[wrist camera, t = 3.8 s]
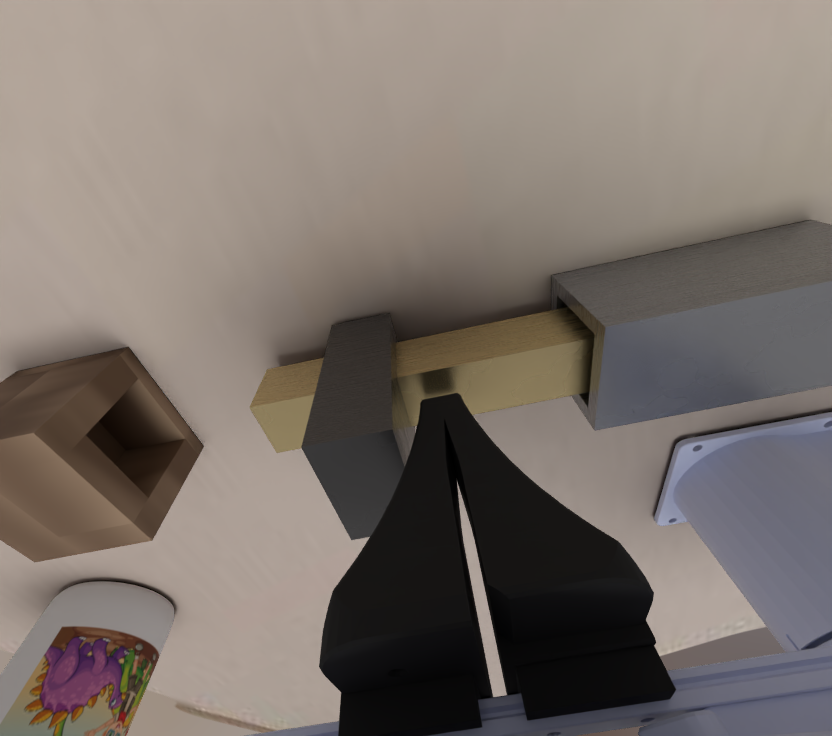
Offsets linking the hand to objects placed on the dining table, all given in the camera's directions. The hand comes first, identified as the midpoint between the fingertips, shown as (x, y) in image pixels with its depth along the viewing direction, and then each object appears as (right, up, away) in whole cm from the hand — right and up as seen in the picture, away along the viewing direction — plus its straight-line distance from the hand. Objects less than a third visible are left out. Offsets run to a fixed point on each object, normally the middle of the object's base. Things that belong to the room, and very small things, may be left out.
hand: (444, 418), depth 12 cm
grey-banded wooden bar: (+3, +3, +3) cm, 6 cm away
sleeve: (+10, +5, +3) cm, 11 cm away
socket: (-15, 0, +5) cm, 15 cm away
